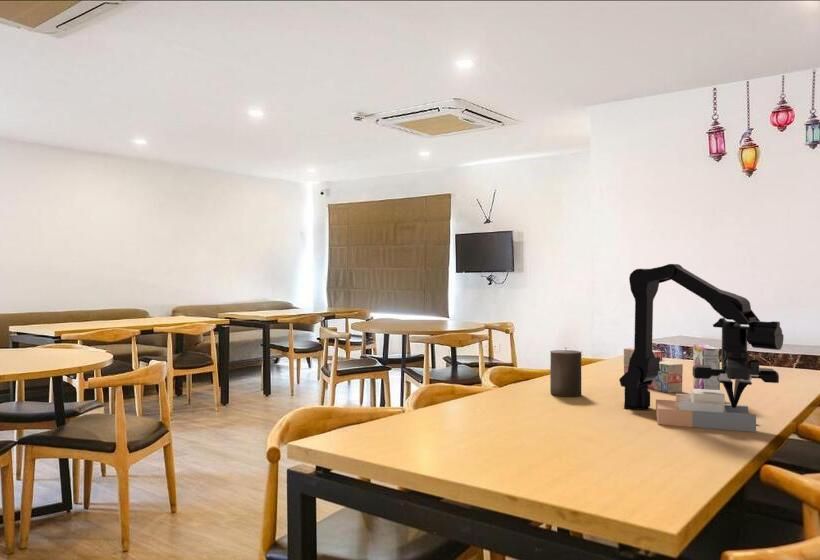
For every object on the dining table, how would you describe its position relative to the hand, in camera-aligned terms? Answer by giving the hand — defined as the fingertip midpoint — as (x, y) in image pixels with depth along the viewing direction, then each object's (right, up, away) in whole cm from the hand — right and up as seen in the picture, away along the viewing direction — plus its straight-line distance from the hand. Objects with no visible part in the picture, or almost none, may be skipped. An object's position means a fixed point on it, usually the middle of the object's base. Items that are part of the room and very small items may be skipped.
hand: (733, 407), depth 152 cm
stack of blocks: (0, -4, +52) cm, 53 cm away
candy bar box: (+8, -4, +30) cm, 31 cm away
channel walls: (-8, 0, +3) cm, 8 cm away
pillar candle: (-32, -4, +40) cm, 51 cm away
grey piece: (-7, -4, +2) cm, 8 cm away
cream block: (-6, 0, +2) cm, 6 cm away
